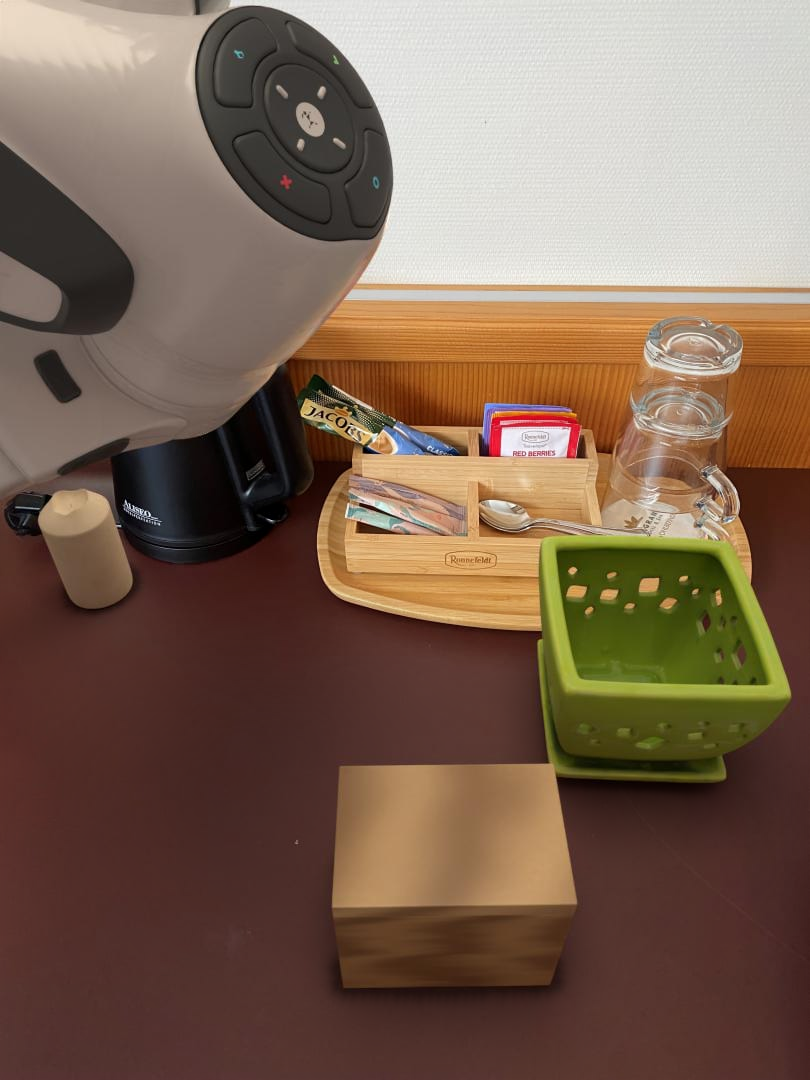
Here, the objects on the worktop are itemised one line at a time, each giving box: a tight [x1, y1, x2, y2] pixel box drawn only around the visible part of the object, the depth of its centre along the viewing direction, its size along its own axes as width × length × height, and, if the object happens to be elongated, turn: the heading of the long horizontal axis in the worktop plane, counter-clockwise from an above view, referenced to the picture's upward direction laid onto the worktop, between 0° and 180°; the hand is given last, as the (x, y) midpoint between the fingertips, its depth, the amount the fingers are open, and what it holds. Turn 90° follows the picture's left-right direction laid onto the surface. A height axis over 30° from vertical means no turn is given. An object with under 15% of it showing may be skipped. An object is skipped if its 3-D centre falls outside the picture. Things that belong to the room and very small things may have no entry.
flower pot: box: [536, 534, 792, 784], centre depth 55 cm, size 14×14×13 cm
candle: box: [37, 488, 134, 610], centre depth 66 cm, size 6×6×10 cm
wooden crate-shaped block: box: [331, 763, 579, 989], centre depth 45 cm, size 12×8×11 cm, turn 91°
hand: (112, 430), depth 48 cm, fingers open, 8 cm apart
